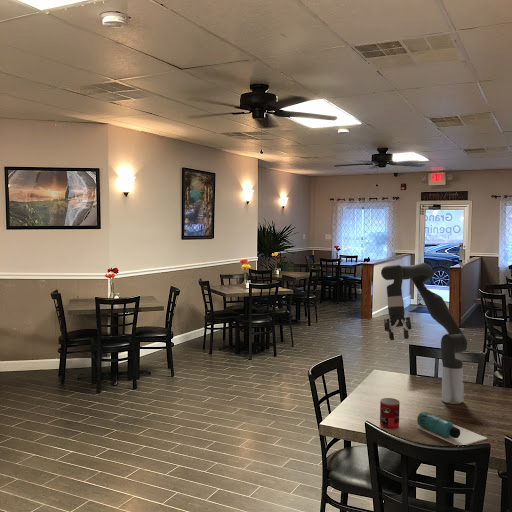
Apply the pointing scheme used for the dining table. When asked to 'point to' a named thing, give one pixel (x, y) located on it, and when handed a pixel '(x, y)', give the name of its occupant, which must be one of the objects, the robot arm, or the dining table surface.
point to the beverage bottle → (437, 425)
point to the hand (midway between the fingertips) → (399, 339)
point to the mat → (463, 439)
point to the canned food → (389, 413)
